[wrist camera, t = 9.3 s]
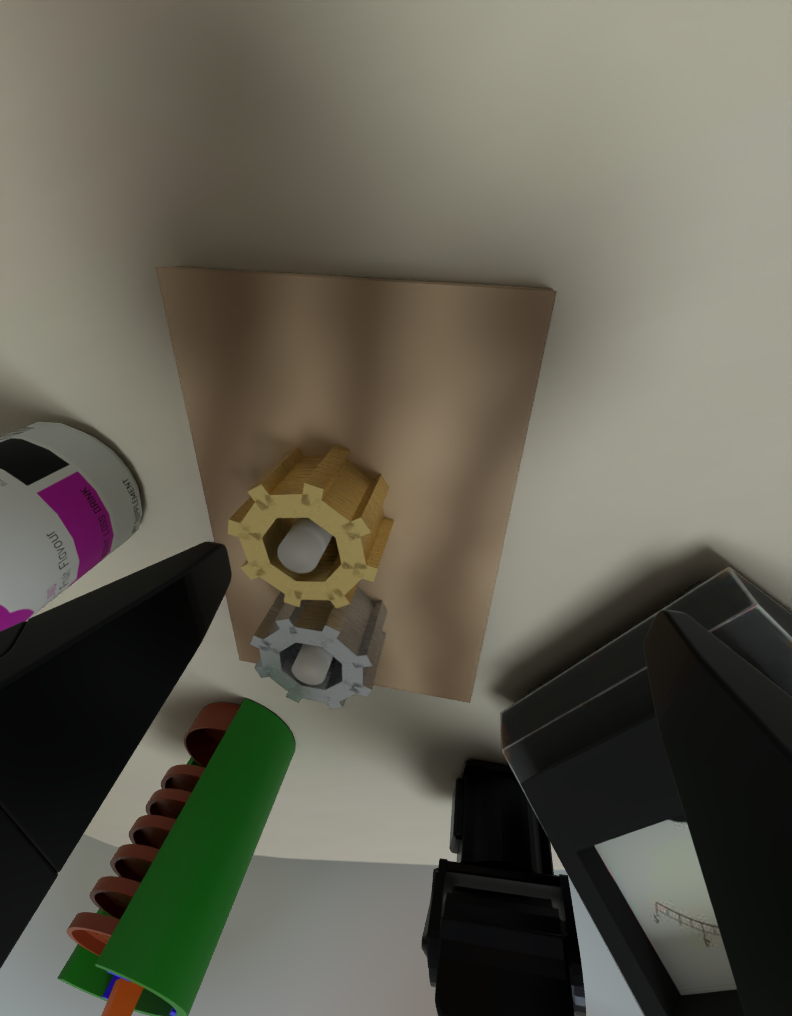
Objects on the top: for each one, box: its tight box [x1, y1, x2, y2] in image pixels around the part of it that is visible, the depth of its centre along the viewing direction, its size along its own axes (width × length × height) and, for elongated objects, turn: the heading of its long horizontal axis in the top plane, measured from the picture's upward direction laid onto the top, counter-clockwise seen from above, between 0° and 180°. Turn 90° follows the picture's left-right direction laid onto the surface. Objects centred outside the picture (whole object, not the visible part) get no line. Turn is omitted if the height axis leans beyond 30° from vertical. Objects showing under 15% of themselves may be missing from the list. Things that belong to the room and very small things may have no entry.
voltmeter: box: [500, 567, 792, 1016], centre depth 18 cm, size 16×16×20 cm
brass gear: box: [228, 445, 394, 608], centre depth 21 cm, size 7×7×4 cm
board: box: [156, 267, 556, 703], centre depth 22 cm, size 16×24×6 cm, turn 178°
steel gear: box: [250, 581, 387, 709], centre depth 24 cm, size 7×7×4 cm
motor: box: [58, 698, 295, 1016], centre depth 30 cm, size 10×9×20 cm
